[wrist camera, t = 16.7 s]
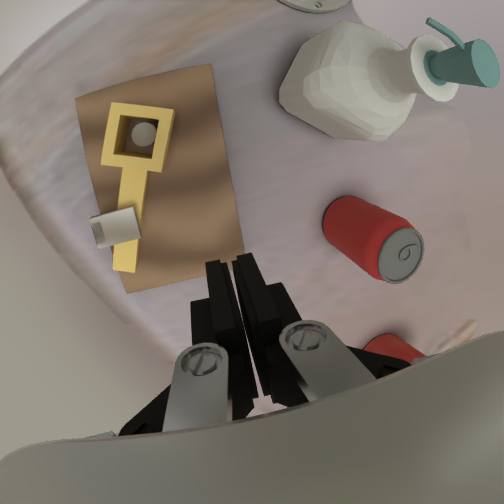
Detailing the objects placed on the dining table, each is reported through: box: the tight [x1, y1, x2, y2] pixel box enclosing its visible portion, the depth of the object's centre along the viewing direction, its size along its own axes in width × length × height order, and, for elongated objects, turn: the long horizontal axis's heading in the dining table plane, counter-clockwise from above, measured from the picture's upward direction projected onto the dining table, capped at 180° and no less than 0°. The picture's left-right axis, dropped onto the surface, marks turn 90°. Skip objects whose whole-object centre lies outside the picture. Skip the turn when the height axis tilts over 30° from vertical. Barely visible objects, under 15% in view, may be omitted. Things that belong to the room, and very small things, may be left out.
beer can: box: [323, 196, 424, 284], centre depth 32 cm, size 7×7×12 cm
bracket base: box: [75, 64, 245, 294], centre depth 28 cm, size 22×14×7 cm, turn 9°
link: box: [101, 102, 175, 273], centre depth 28 cm, size 16×5×5 cm, turn 167°
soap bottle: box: [279, 17, 500, 142], centre depth 21 cm, size 10×10×23 cm
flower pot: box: [363, 334, 425, 363], centre depth 43 cm, size 11×11×10 cm
